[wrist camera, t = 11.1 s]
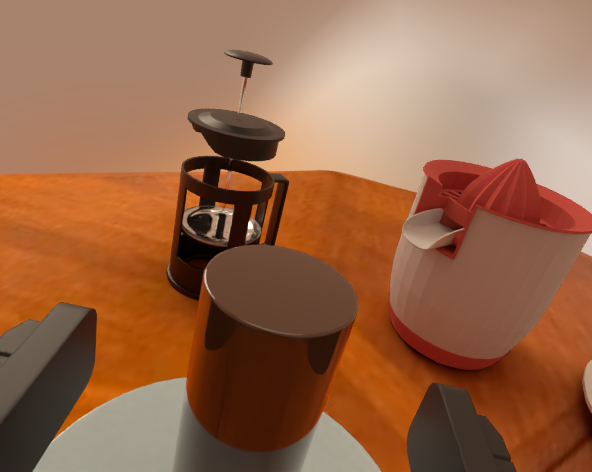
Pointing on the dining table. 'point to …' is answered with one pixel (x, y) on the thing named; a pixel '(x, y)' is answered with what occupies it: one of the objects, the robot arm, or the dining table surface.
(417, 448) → the robot arm
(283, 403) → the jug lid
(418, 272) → the citrus juicer
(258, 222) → the french press
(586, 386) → the plated food
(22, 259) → the dining table surface
